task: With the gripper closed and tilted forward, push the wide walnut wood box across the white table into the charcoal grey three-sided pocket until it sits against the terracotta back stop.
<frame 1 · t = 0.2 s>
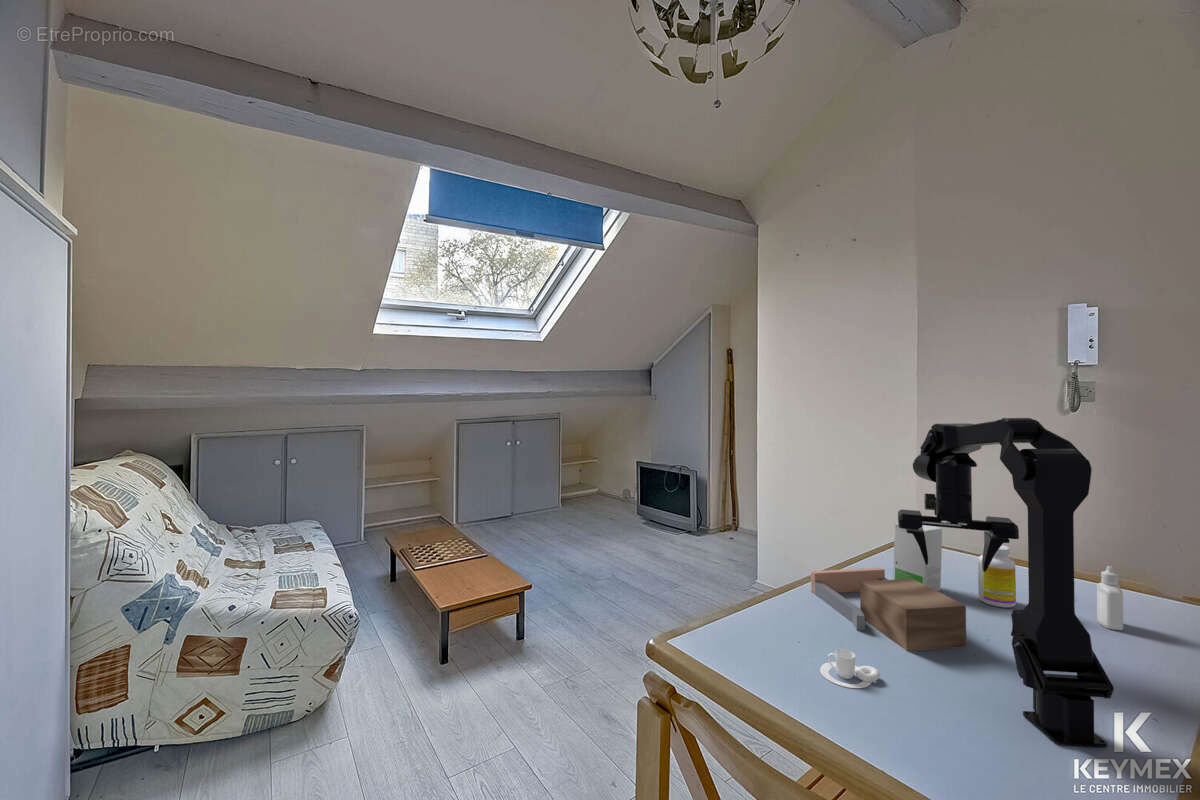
hand: (954, 567, 97), 14 cm above the table, tool pointing down, fingers open, 9 cm apart
eye dropper bottle: (1109, 626, 101), on the table
walnut box: (909, 632, 100), on the table
box pocket: (870, 605, 113), on the table
teacup and saucer: (858, 689, 82), on the table
supplement bottle: (996, 603, 113), on the table
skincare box: (917, 588, 122), on the table
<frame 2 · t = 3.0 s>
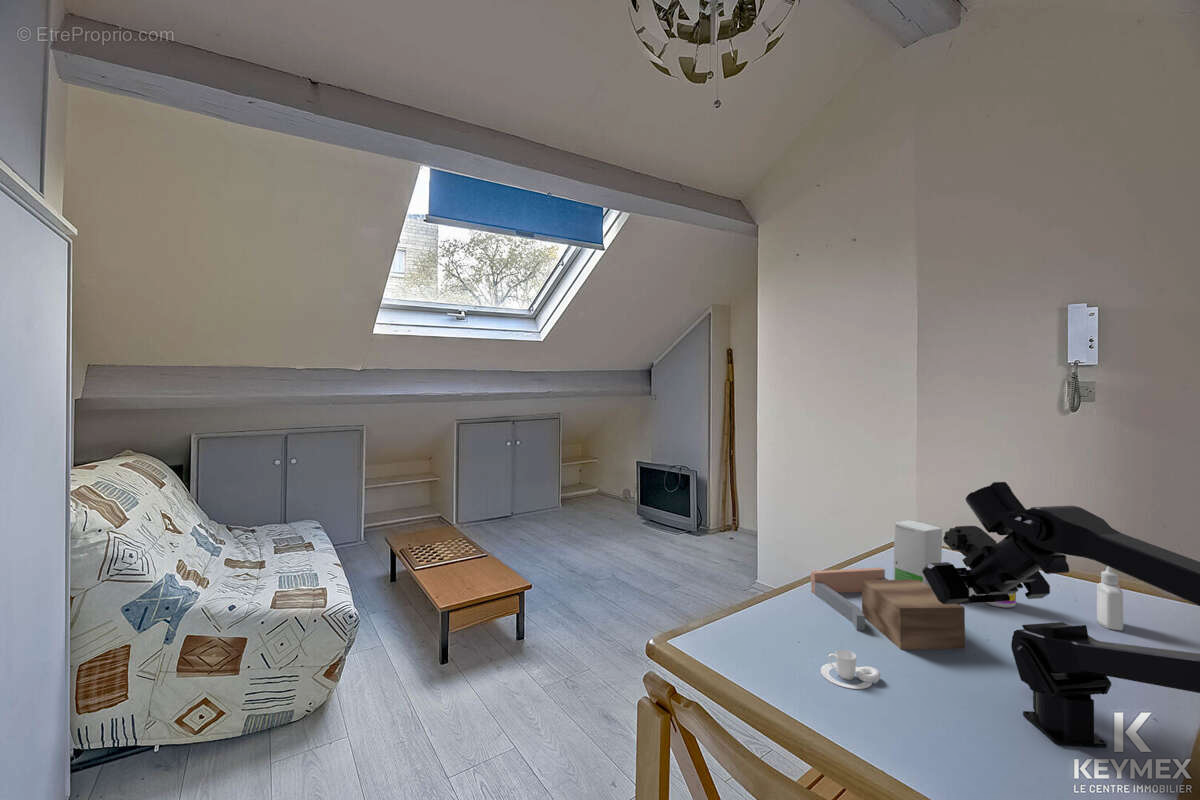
hand: (956, 601, 88), 11 cm above the table, tool tilted 45°, fingers closed
nothing on the table moved.
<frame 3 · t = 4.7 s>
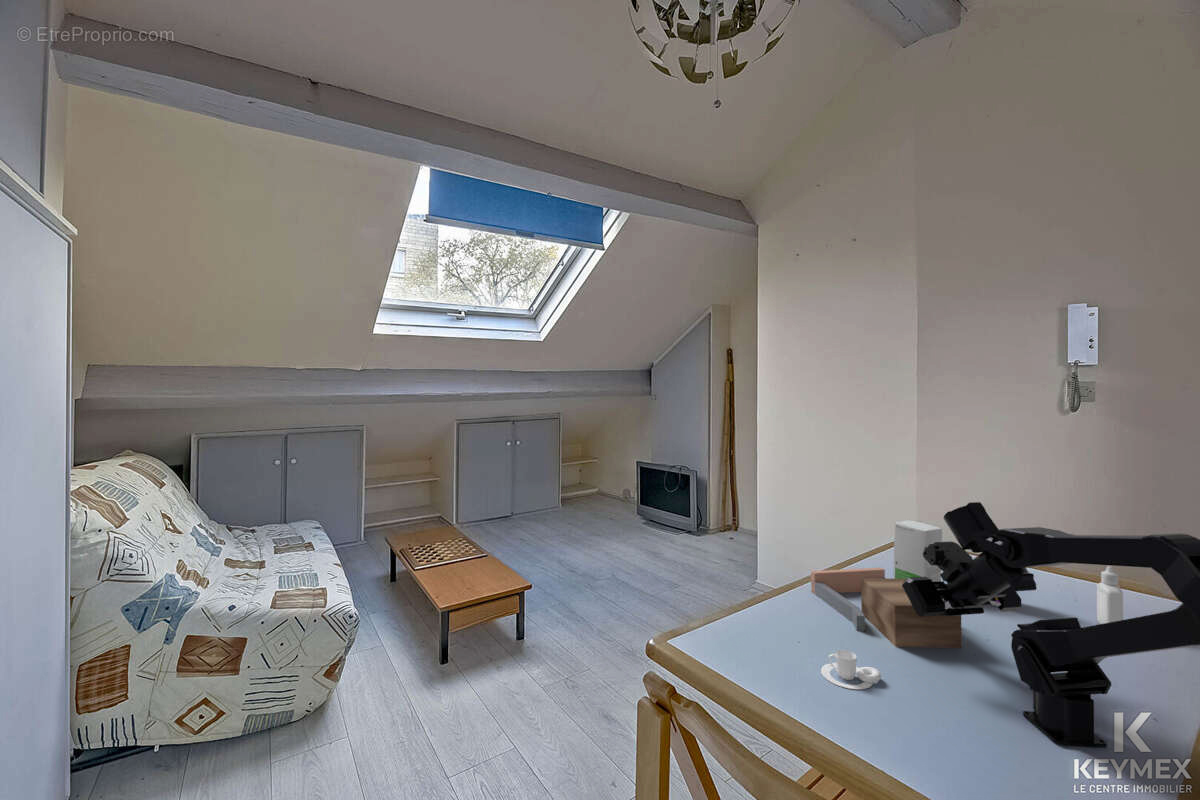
hand: (935, 612, 93), 7 cm above the table, tool tilted 45°, fingers closed
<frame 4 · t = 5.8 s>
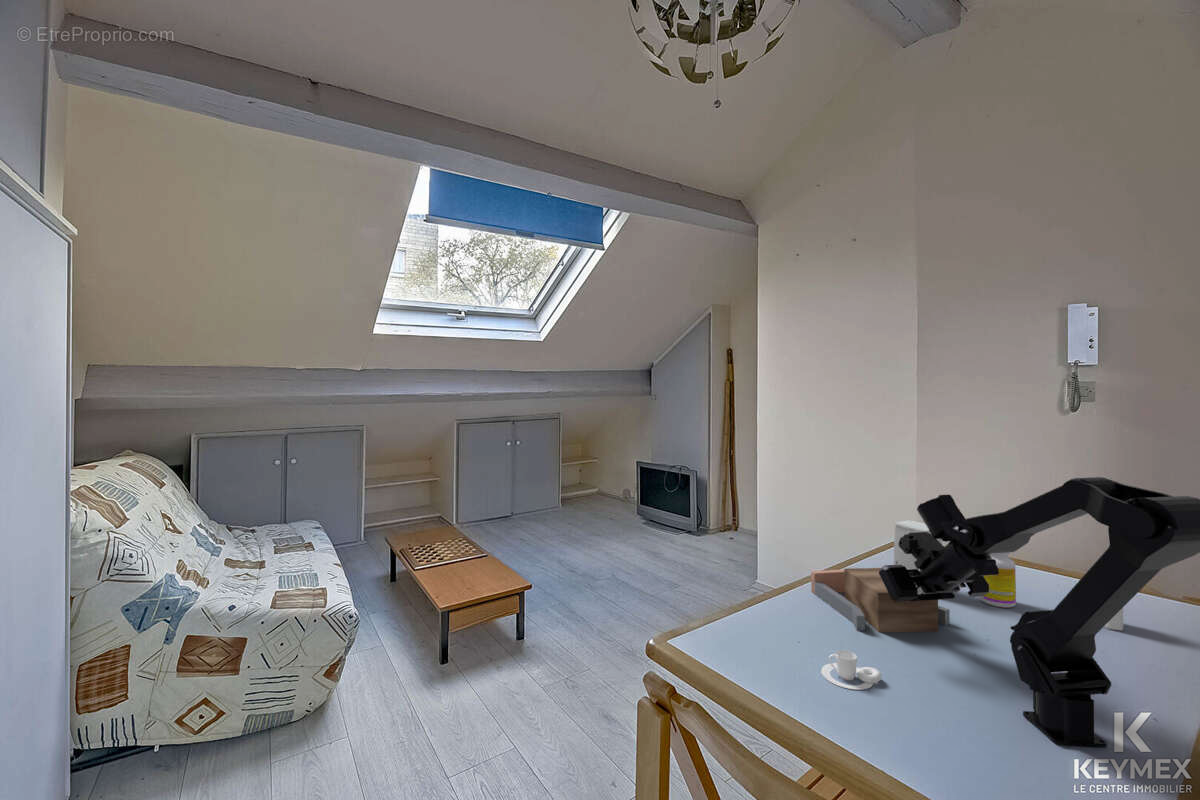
hand: (911, 598, 100), 7 cm above the table, tool tilted 45°, fingers closed
walnut box: (888, 616, 107), on the table, touching gripper
everything else where it was.
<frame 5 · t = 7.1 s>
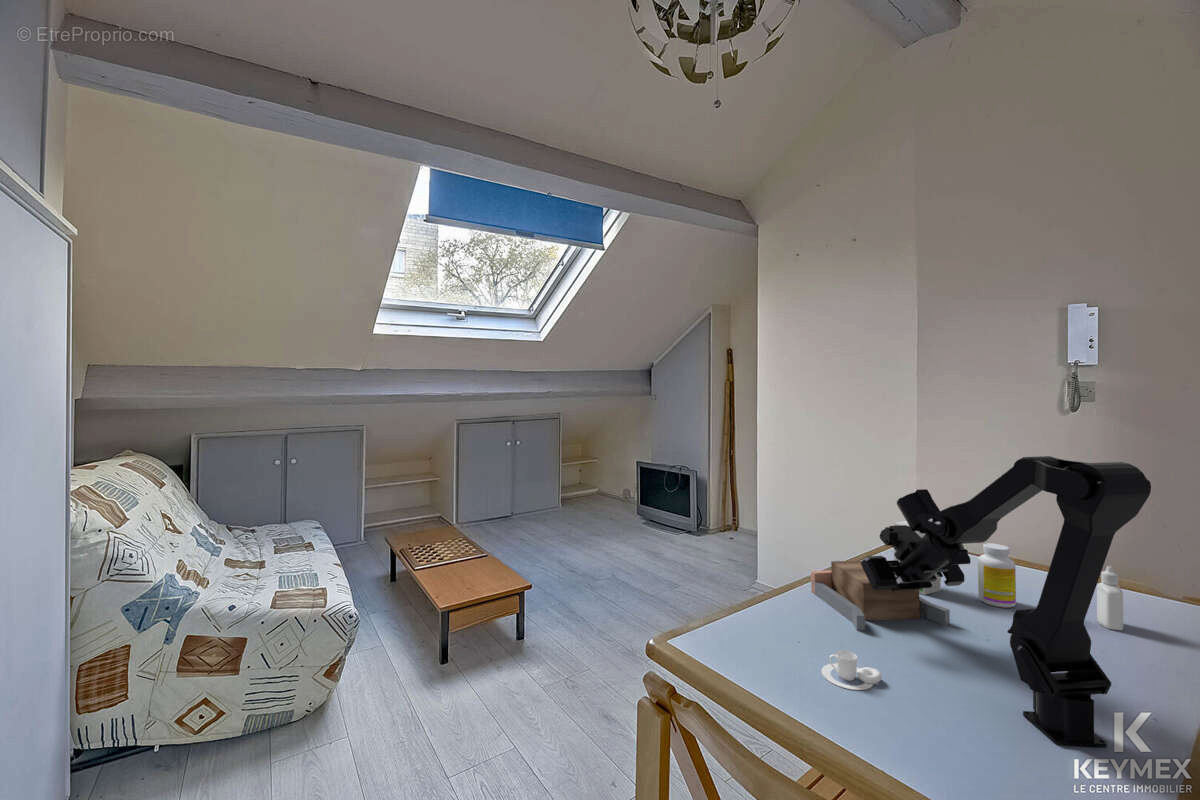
hand: (892, 588, 105), 7 cm above the table, tool tilted 45°, fingers closed
walnut box: (872, 606, 112), on the table
everything else where it was.
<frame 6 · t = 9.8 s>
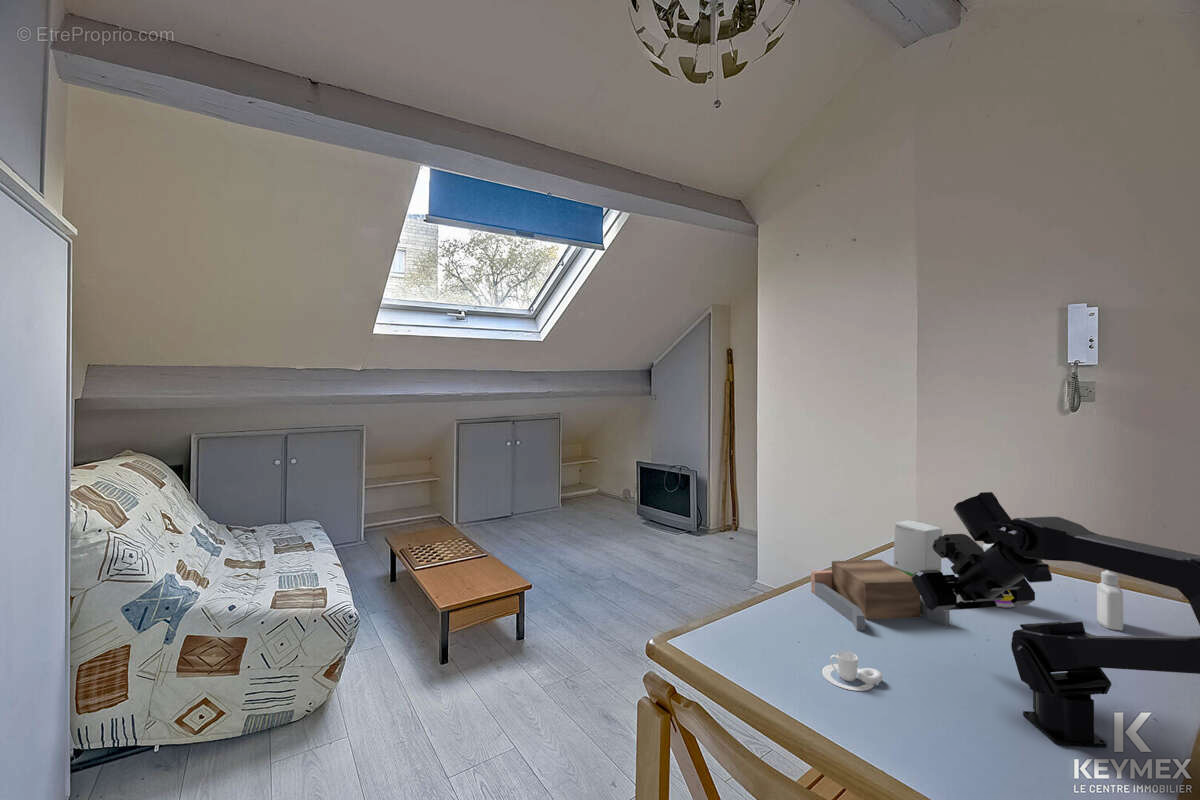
hand: (945, 607, 91), 9 cm above the table, tool tilted 45°, fingers closed
nothing on the table moved.
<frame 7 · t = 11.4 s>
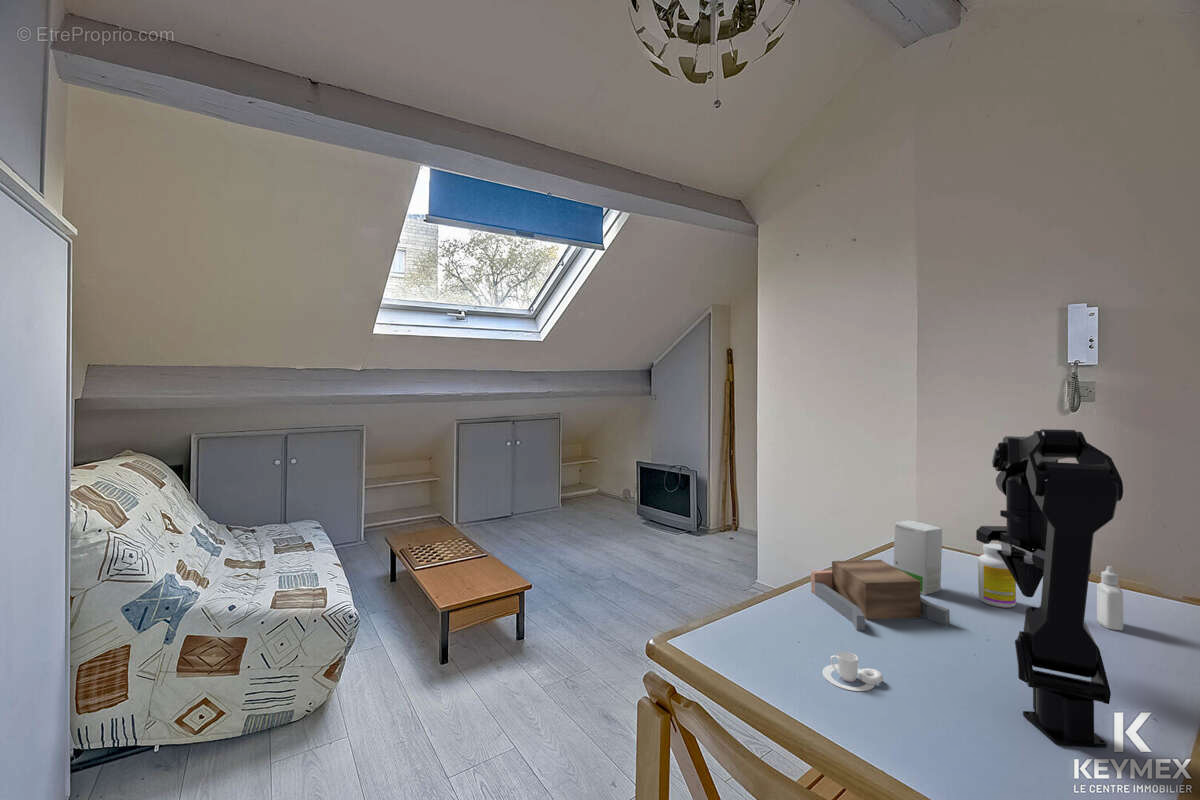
hand: (1027, 596, 87), 12 cm above the table, tool pointing down, fingers closed
nothing on the table moved.
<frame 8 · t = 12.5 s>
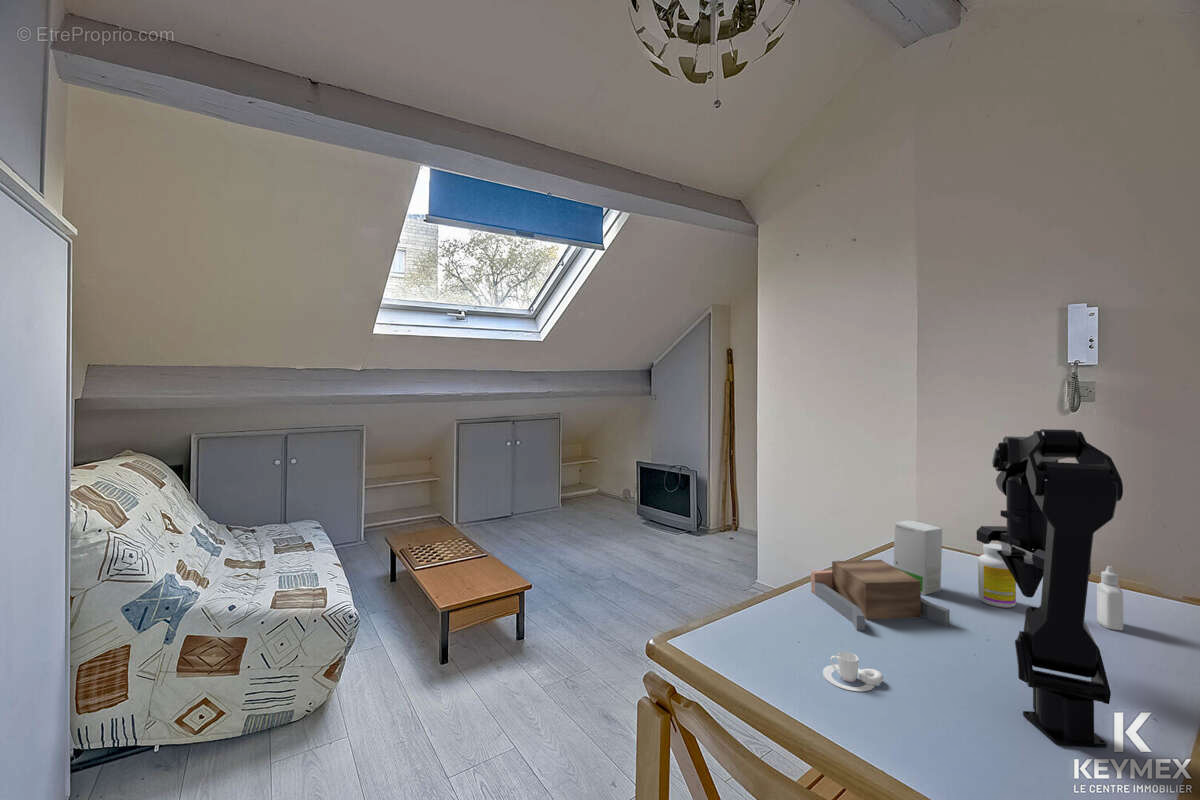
hand: (1028, 596, 87), 12 cm above the table, tool pointing down, fingers closed
nothing on the table moved.
at the end: walnut box 1.1 cm from the box pocket (horizontally); walnut box tilted 0°; walnut box moved 12.7 cm from its start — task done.
